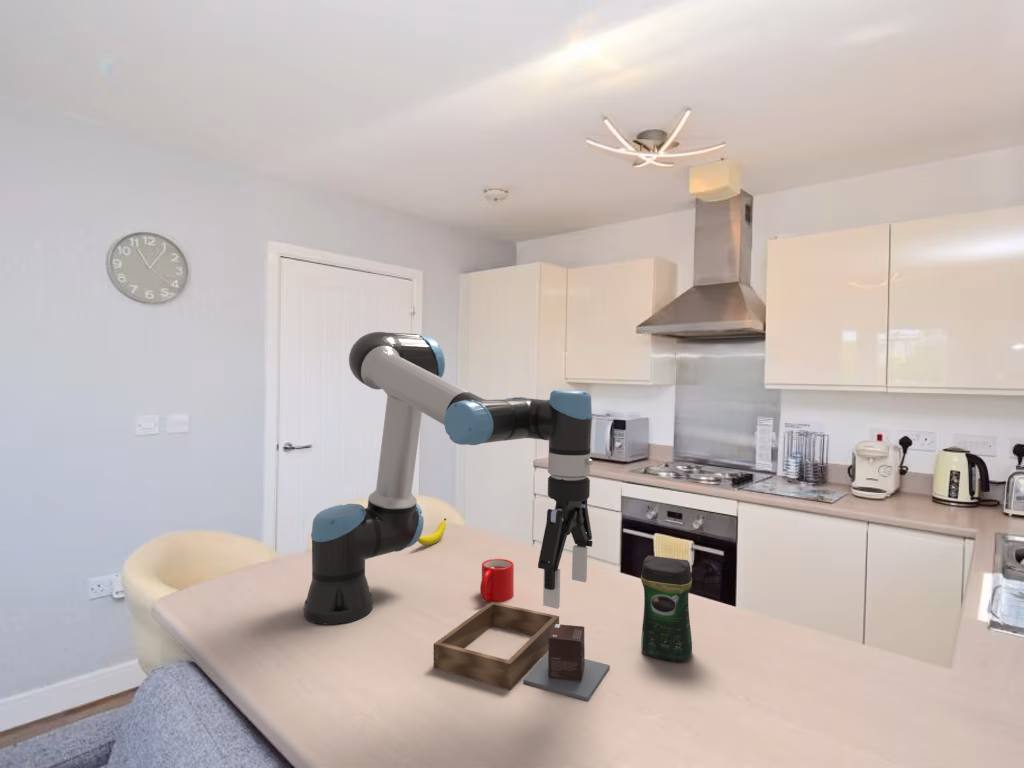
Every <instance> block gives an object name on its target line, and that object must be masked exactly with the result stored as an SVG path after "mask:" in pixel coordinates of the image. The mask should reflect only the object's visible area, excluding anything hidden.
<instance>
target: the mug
mask: <svg viewBox="0 0 1024 768" xmlns="http://www.w3.org/2000/svg"><path fill="white" fill-rule="evenodd" d="M514 570H515V566H514V562H513V561H512V560H509V559H505V558H491V559H487V560H484V561H483V562H482V563H481V581H480V591H479V592H480V596H481V598H482V600H483V601H485V602H495V603H500V602H507V601H510V600H512V599H513V598H514V594H515V593H514V587H515V586H514V584H515V581H514V578H515V576H514V574H515V571H514Z"/></svg>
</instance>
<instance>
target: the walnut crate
mask: <svg viewBox="0 0 1024 768" xmlns="http://www.w3.org/2000/svg"><path fill="white" fill-rule="evenodd" d="M553 624H560V616H559V615H557V614H556V615H554V614H551V613H546V612H541V611H536V610H531V609H527V608H523V607H519V606H518V607H517V606H514V605H509V604H503V603H500V602H493V601H490V602H489V603H488V604H486V605H485V606H484V607H482V608H481V609H480V610H478V611H477V612H476V613H474V614H473V615H471V616H470V617H468V618H467V619H466V620H464V621H463V622H461V623H460V624H459V625H458V626H455V628H453V629H452V630H450V631H449V632H448V633H447V634H445V635H444V636H442V637H441V638H439V639H438V640H437V641H435V642H434V643H433V669H437V670H440V671H444V672H446V673H451V674H454V675H457V676H461V677H464V678H467V679H472V680H474V681H477V682H481V683H484V684H489V685H492V686H496V687H499V688H502V689H506V690H510V691H511V690H512V689H513V688H514V687H515V686H516V685H517V683H518V682H520V680H521V679H522V678H524V676H525V675H526V674H527V672H529V671H530V669H531V668H532V667H533V666H534V665H535V664H536V663H537V662H538V661H539V660H540V659H541V658H542V657H543V656H544V654H545V653H547V651H548V637H549V635H550V631H551V629H552V626H553ZM493 626H497V627H501V628H505V629H509V630H515V631H518V632H523V633H526V634H530V635H532V636H531V637H530V638H529V639H528V640H527V641H526V642H525V643H524V644H523V645H522V646H521V647H520V648H518V649H517V651H515V653H514V654H513V655H511V656H510V658H509V659H505V658H501V657H497V656H494V655H490V654H486V653H482V652H479V651H475V650H471V649H467V648H466V647H467V646H469V645H470V644H471V643H473V642H474V641H476V639H478V638H479V637H480V636H481V635H483V634H484V633H485V632H486V631H488V630H489V629H490V628H491V627H493Z"/></svg>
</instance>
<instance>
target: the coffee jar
mask: <svg viewBox="0 0 1024 768" xmlns="http://www.w3.org/2000/svg"><path fill="white" fill-rule="evenodd" d="M692 577H693V576H692V570H691V564H690V561H689V560H688V559H679V558H671V557H665V556H655V555H647V557H645V559H644V560H643V563H642V568H641V576H640V579H641V584H642V588H643V591H644V592H643V593H644V598H643V599H644V603H643V604H644V605H643V616H642V617H643V618H642V628H641V637H640V638H641V640H640V642H641V643H640V645H641V646H640V648H641V651H642V652H643V653H644V654H645V655H647V656H648V657H653V658H656V659H658V660H659V659H660V660H665V661H666V660H667V661H672V662H680V663H682V662H685V661H687V660H689V659H690V658H691V656H692V654H693V638H692V629H691V622H690V611H689V609H690V608H689V607H690V606H689V593H690V590H691V588H692V584H693V578H692Z"/></svg>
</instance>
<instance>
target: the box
mask: <svg viewBox="0 0 1024 768" xmlns="http://www.w3.org/2000/svg"><path fill="white" fill-rule="evenodd" d="M547 651H548V652H547V653H548V677H549V678H556V679H565V680H574V681H582V677H583V672H584V666H585V659H586V658H585V655H586V654H585V626H582V625H580V626H579V625H572V624H571V625H570V624H560V623H559V624H553V626H552V629H551V631H550V635H549V637H548V650H547Z"/></svg>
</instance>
